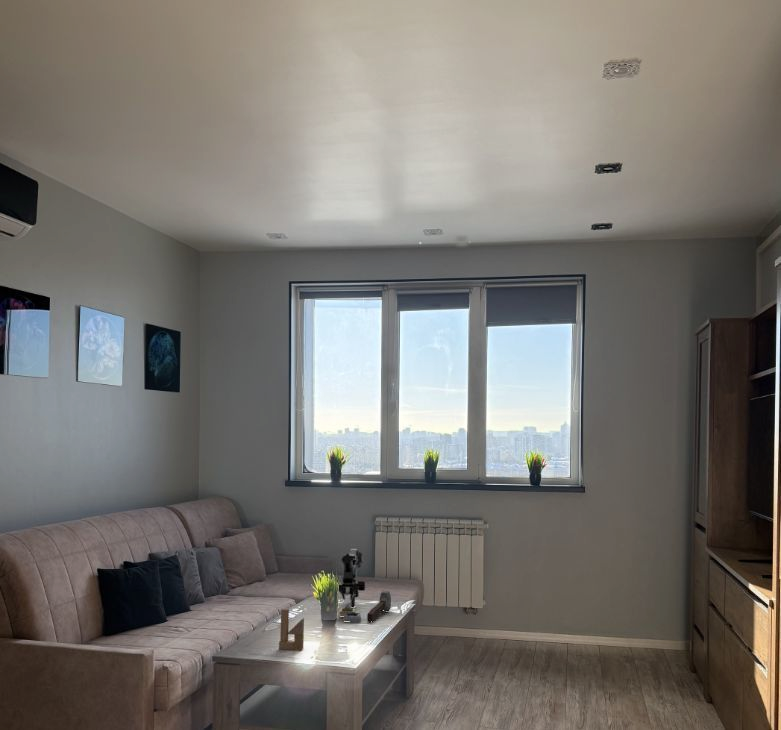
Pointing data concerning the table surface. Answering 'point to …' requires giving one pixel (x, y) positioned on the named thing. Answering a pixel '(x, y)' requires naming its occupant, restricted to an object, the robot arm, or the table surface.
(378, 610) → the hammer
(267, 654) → the table surface
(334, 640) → the table surface
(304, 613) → the table surface
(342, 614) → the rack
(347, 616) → the socket
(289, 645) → the wooden block
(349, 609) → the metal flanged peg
